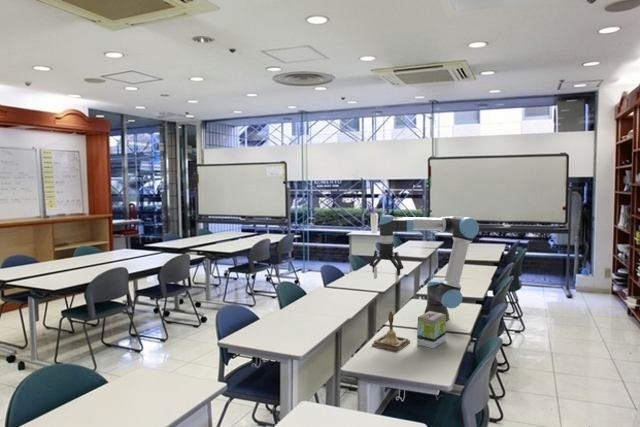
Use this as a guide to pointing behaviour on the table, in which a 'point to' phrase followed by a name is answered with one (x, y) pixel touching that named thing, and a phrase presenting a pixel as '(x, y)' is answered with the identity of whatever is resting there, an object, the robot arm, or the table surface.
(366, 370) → the table surface
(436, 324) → the tea box
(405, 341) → the stand
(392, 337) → the hand bell
